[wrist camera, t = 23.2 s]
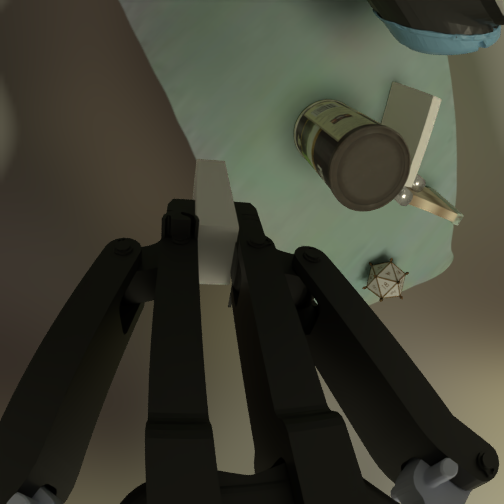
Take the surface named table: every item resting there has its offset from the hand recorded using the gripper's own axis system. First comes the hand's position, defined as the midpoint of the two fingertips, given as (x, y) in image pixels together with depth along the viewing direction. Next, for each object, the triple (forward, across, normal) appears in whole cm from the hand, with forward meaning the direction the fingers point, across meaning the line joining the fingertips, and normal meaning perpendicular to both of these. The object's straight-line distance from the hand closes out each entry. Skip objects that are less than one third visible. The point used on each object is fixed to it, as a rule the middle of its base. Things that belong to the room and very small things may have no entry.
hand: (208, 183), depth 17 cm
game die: (+27, +37, -26) cm, 53 cm away
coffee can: (+27, +18, -2) cm, 32 cm away
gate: (+25, +35, -7) cm, 44 cm away
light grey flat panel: (+26, +27, +2) cm, 38 cm away
